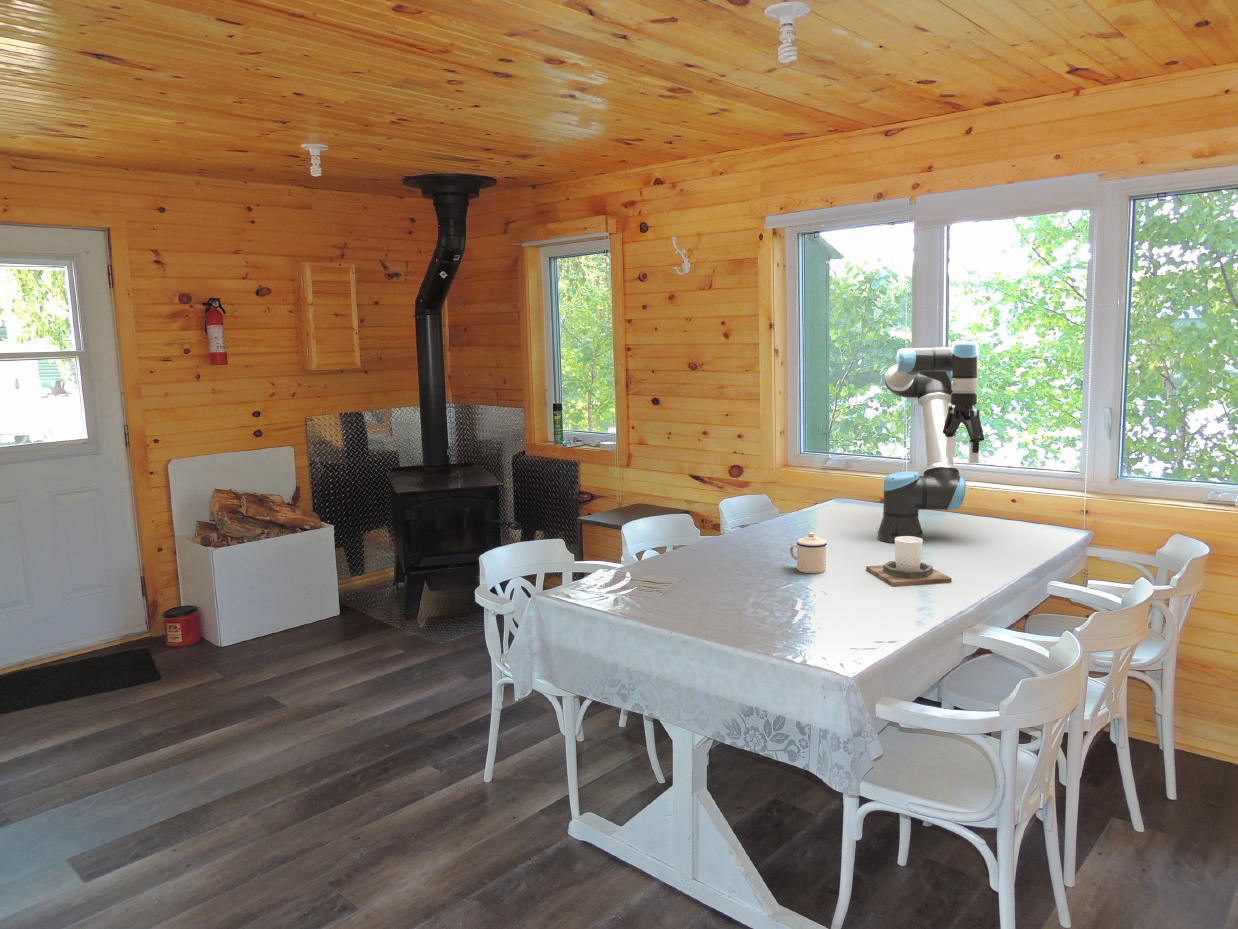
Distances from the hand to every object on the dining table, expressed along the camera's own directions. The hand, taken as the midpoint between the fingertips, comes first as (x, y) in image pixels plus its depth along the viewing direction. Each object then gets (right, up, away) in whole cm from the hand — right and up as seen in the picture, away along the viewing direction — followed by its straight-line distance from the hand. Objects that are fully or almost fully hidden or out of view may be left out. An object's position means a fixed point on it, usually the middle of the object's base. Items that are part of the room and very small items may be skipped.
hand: (961, 460), depth 277 cm
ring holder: (-21, -34, -12) cm, 42 cm away
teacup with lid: (-49, -34, -2) cm, 59 cm away
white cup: (-21, -33, -13) cm, 41 cm away
